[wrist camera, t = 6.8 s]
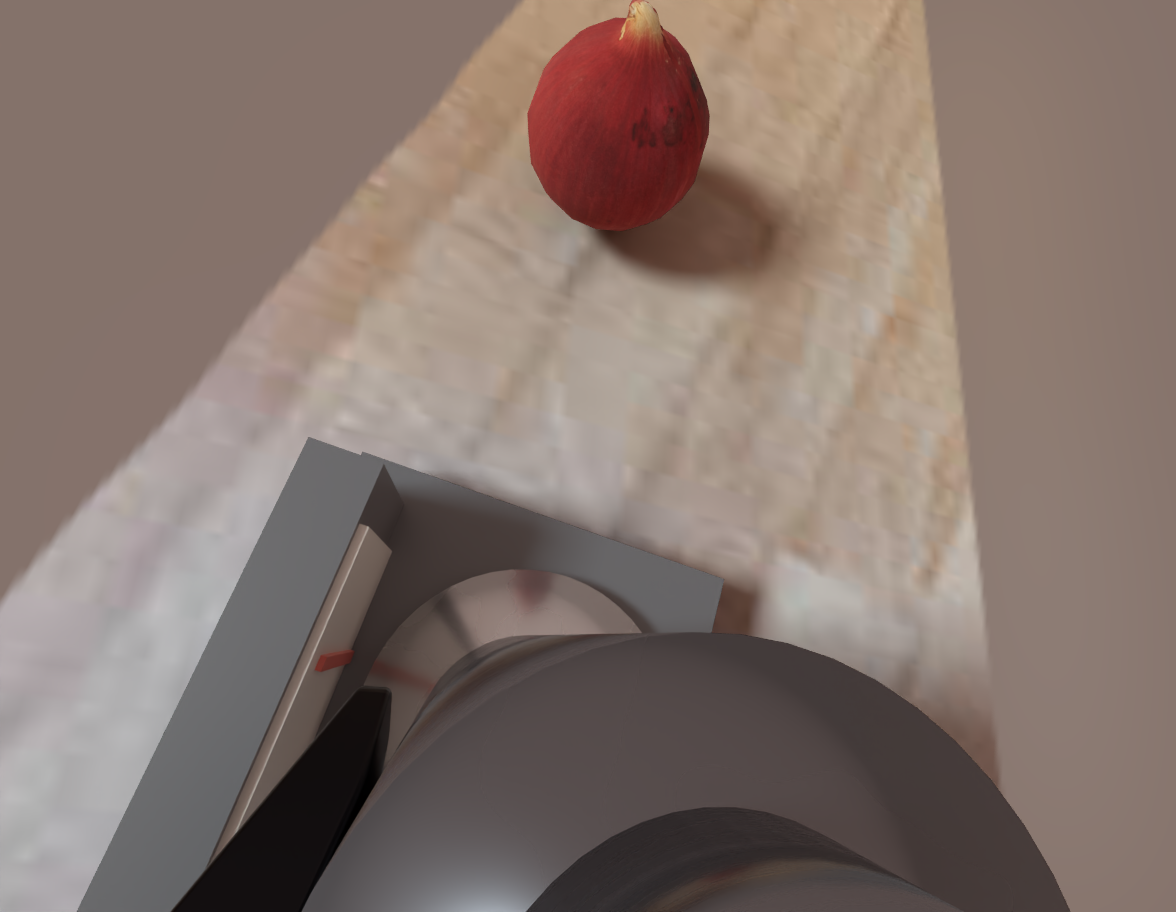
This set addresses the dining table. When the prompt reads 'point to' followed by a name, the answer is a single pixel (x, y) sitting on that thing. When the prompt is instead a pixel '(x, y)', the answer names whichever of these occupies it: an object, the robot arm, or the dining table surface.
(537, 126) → the onion
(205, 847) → the scale
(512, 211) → the dining table surface
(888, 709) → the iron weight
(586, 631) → the scale pan
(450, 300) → the dining table surface
